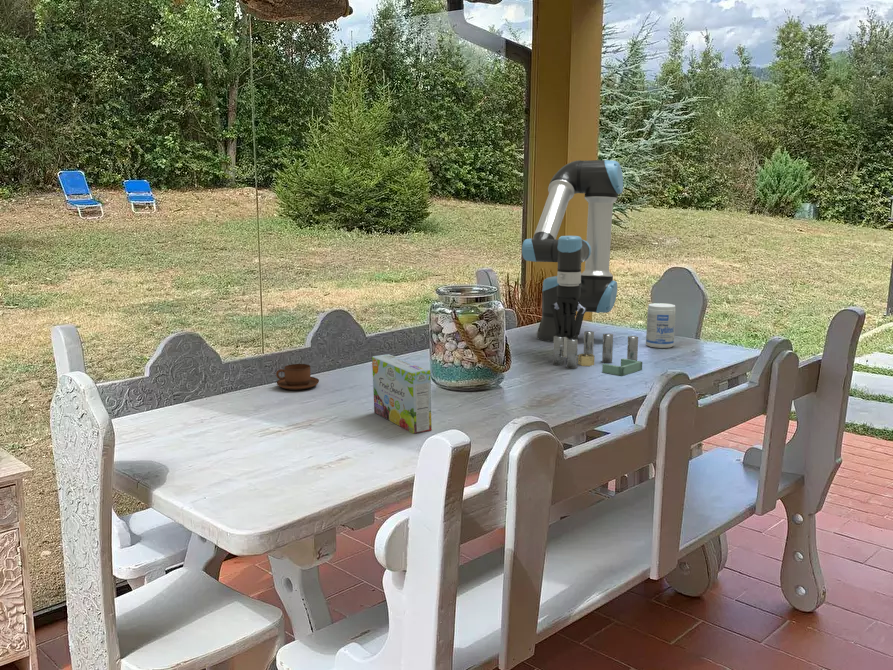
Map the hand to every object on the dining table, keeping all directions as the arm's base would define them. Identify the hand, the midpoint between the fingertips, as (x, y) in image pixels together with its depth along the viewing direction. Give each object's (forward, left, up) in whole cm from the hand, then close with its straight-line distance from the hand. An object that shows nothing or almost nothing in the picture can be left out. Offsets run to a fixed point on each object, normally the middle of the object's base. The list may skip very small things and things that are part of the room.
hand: (567, 356), depth 276 cm
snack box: (+11, -84, -2) cm, 85 cm away
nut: (+7, 0, -2) cm, 8 cm away
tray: (+21, 0, -1) cm, 21 cm away
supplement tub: (+9, +42, -2) cm, 43 cm away
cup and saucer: (-36, -81, -2) cm, 88 cm away
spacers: (+10, +1, -1) cm, 10 cm away
